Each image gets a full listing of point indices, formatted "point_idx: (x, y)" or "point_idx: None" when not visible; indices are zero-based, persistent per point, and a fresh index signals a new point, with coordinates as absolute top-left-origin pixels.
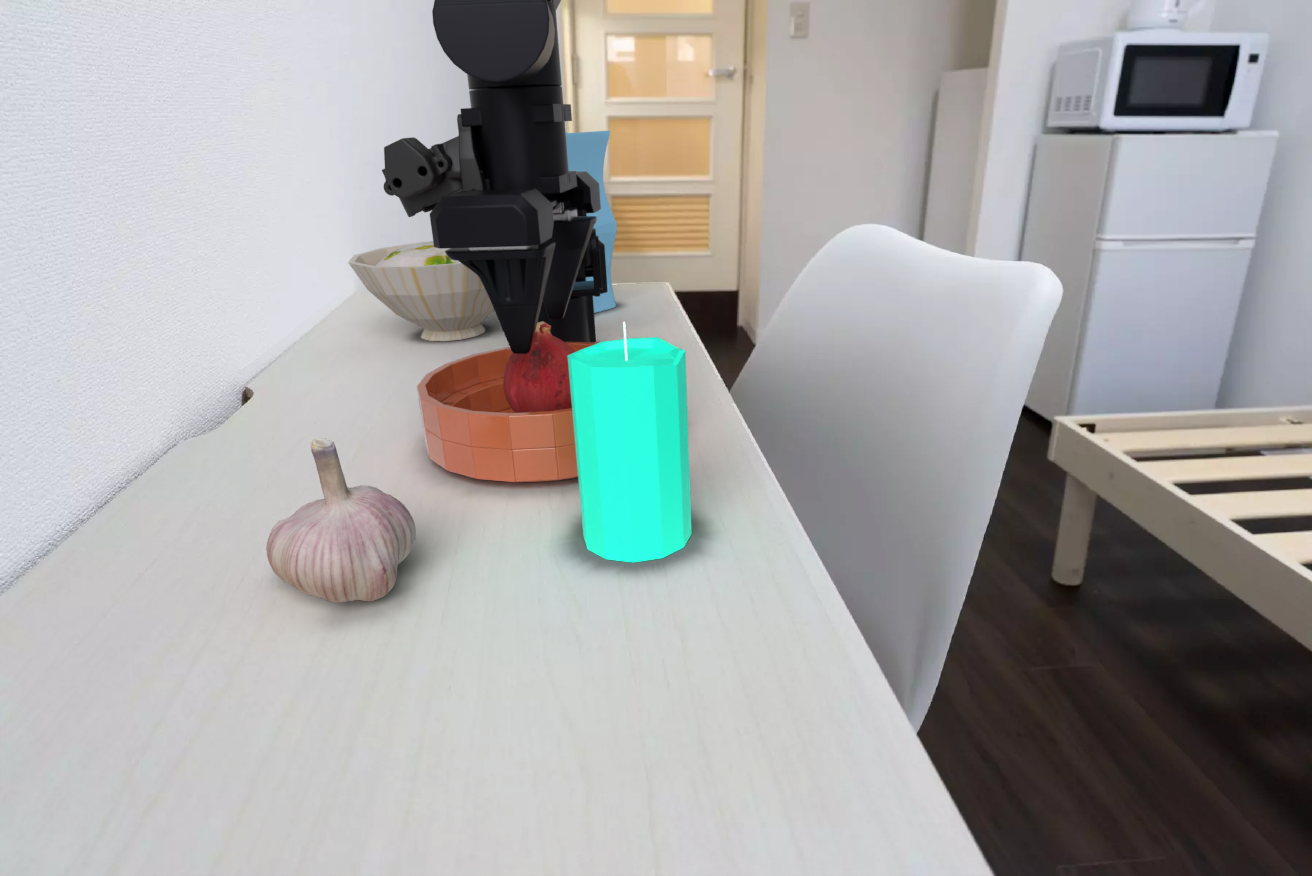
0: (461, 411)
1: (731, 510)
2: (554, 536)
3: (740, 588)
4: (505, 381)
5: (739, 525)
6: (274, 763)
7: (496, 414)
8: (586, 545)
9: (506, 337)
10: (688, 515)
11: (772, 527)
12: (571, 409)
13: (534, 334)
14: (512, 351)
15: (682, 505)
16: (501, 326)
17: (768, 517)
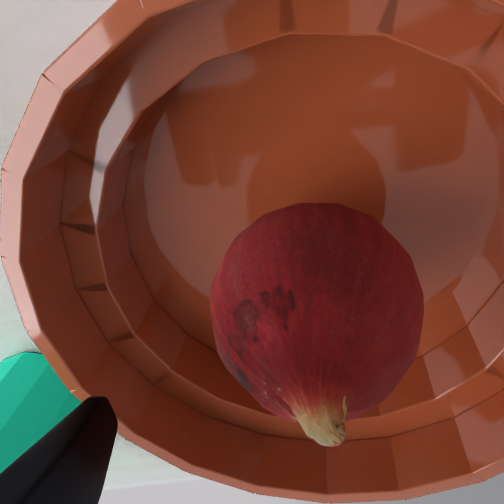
0: (3, 239)
1: (138, 454)
2: (10, 325)
3: None
4: (242, 250)
5: (111, 459)
6: None
7: (22, 310)
8: (4, 360)
9: (49, 431)
10: None
11: (117, 477)
12: None
13: (103, 479)
14: (86, 399)
15: None
16: (17, 459)
17: (135, 476)
